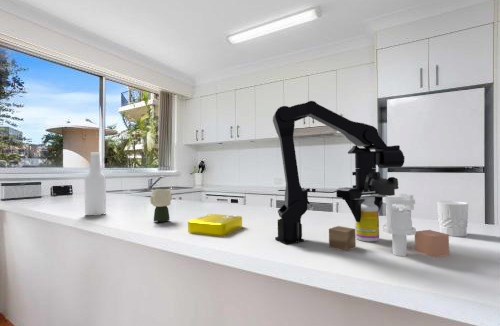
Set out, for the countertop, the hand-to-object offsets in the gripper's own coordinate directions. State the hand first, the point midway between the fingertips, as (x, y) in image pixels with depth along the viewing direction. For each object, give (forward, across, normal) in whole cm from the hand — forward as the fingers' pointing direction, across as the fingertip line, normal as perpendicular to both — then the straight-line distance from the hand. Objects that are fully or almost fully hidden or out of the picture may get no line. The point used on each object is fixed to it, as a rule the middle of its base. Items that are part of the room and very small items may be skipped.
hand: (366, 220), depth 79 cm
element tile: (+6, -36, +34) cm, 50 cm away
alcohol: (+6, -77, +92) cm, 120 cm away
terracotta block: (+6, +4, -16) cm, 17 cm away
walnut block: (+6, -12, -2) cm, 13 cm away
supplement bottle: (+6, 0, 0) cm, 6 cm away
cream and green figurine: (+6, -51, +58) cm, 77 cm away
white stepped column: (+6, -4, -13) cm, 15 cm away
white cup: (+6, +28, -9) cm, 30 cm away
